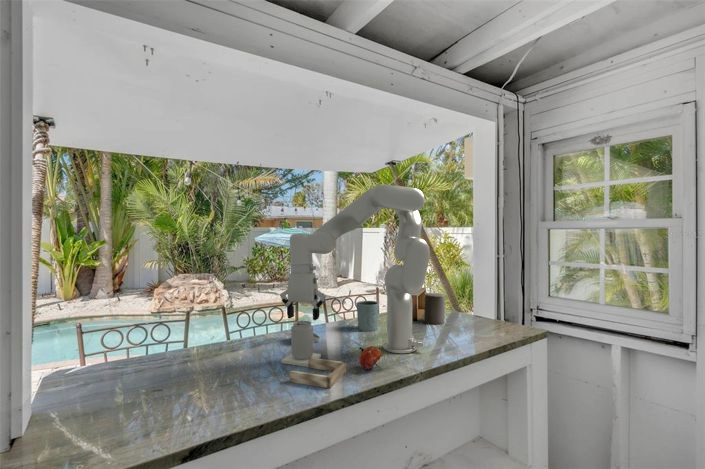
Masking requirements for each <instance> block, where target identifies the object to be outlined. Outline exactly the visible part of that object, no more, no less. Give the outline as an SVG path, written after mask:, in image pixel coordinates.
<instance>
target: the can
mask: <svg viewBox="0 0 705 469" xmlns="http://www.w3.org/2000/svg"><path fill="white" fill-rule="evenodd" d="M290 330H291V333H290V334H291V337H290V338H291V339H290V340H291V343H290V344H291V348H290V350H291V353H290V354H291V355H292V357H294V358H295V359H297V360H305V359H308V358H310V357H311V356H312V355H313V353H314V341H313V333H314V326H313V325H312V322H311V321H309V320H297V321H294V322H293V323H292V326H291V329H290Z"/></svg>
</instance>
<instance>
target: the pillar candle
mask: <svg viewBox="0 0 705 469" xmlns="http://www.w3.org/2000/svg"><path fill="white" fill-rule="evenodd" d="M445 302H446V295H445V294H444V293H440V292H436V291H434V292H426V293H425V294H424V308H423V309H424V316H423V317H424V318H423V320H424V323H426V324H428V325H434V326H435V325H443V324H445V316H446V315H445V314H446V310H445V309H446V308H445V307H446V306H445V305H446V303H445Z"/></svg>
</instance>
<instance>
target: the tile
mask: <svg viewBox="0 0 705 469" xmlns="http://www.w3.org/2000/svg"><path fill="white" fill-rule="evenodd" d="M321 356H322V355H321V353H314V352H313V355H312V356H311V357H310V358H318V359H321V358H322V357H321ZM280 362H281V364H286V365H287V364H288V365H292V366H299V367H305V368H308V359H305V360H297V359H295V358H294V357H292V355H291V353H290V354H289V355H287V356H285V357H284V358H282V359H281V360H280Z"/></svg>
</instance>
